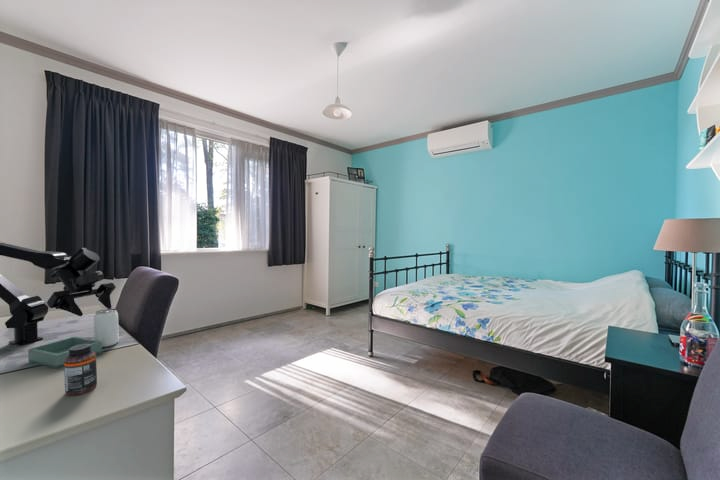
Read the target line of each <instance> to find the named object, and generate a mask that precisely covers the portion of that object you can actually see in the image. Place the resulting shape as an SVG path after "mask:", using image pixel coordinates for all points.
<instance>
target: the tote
mask: <svg viewBox="0 0 720 480" xmlns="http://www.w3.org/2000/svg"><path fill="white" fill-rule="evenodd" d="M80 344H90V345H91V351H93V352H95V354H96V356H97V355H98V356H99V355H101V354H103V349H102V348H103V347H102V341H98V340H95V339H91V338H85V337H82V336H75V335H74V336H70V337H67V338H64V339H59V340H56V341H52V342H49V343H46V344H42V345H39V346H36V347H31V348H28V349H27V351H28V352H27V354H28V355H27V356H28V357H27V358H28V359H27V360H28V363H31V364H35V365H40V366H44V367H48V368H52V369H55V370H58V369H61V368H64V360H65V359H66V358H67V357H68V356H69V348H71V347H73V346H76V345H80Z"/></svg>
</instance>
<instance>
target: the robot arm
mask: <svg viewBox="0 0 720 480" xmlns="http://www.w3.org/2000/svg"><path fill="white" fill-rule="evenodd" d="M0 256H3V257H6V258H12V259H17V260H20V261H25V262H29V263H31V264H32V265H34V266H36V267H38V268H41V269H44V270H53V269H57V270H55V271H54V270H53V272H52V274H51V275H50V279H53V280H54V279H55V280H60V281H61V283H62V284H63V290H57V291H54V292H52V294H51V296H50V297H48V298H49V299H47V301H44V300H43V299H42V298H41V296H39V295H34V296H33V295H32V296H28V295H26V294H25V293H23V291H21V290H20V289H19V288H18V287H17V286H16V285H14V284H13V283H12V282H11V281H10V280H8V279H7V278H6V277H5V276H4V275H3V274H1V273H0V299H1V300H2V301H3V302H4V303H6V304H7V305H8V306H9V313H10V315H11V317H10V318H8V319H7V320H6V321H5V322H4V325H5V327H6V329H13V336H14V337H13V340H10V341H9V342H8V344H10V345H11V344H12V345H17V346H22V345H25V344H29V343H34V342H37V341H40V340H44V337H42V336H39V327H38V325H39V322H42V321H44V319H45V317H46V316H47V314H48V312H49V309H54V308H55V309H56V310H63V311H66V312H69V313H70V314H73V315H76V316H79V317H82V316H83V315H84V313H83V311H82V310H81V308H80V306H79V305H78V304H77V303H76V301H75V299H80V298H85V297H90V296H95V297H96V298H97V300H98V301H99V302H100V303H101V304H102V305H103V306H104V307H105V309H112V302H111V294H112V293H113V292H114V290H115V289H116V288H117V285H115V284H114V282H105V283H101V284H100V285H99V286H98V288H94V287H95V286H96V283H97V282H100V281H101V280H103V279H104V278H105V275H104V273H103V272H102V271H101V270H97V271H96V270H95V271H94V272H89V273H88V272H87V273H84V274H82V273H81V272H86V271H88V270H89V269H90V268H92V267H93V266H94V265H96V264H97V263H98V262H99V261H100V260H101V258H100V256H99V254H98V253H96V252H94V251H92V250H89V249H87V248H86V247H82V248H80V249H78V250H77V252H75V254H73V255H68V254H67V253H65V252H63V251H51V250H50V251H47V250H46V251H45V250H36V249H33V248H28V247H23V246H19V245H14V244H10V243H6V242H3V241H0ZM93 288H94V289H93Z"/></svg>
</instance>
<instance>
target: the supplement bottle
mask: <svg viewBox="0 0 720 480" xmlns="http://www.w3.org/2000/svg"><path fill="white" fill-rule="evenodd" d="M63 368H64V369H63V371H64V374H63V375H64V388H65V389H64V390H65V391H64V392H65V394H66V395H67V396H79V395H83V394H84V393H88V392H91V390H93V389H95V388H96V387H97V385H98V376H97V375H98V373H97V372H98V371H97V370H98V369H97V355H96V354H95V352H93V351H91V345H90V344H80V345H76V346H73V347H71V348H69V356H68V357H67V358H66V359H65V360H64V367H63Z"/></svg>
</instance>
